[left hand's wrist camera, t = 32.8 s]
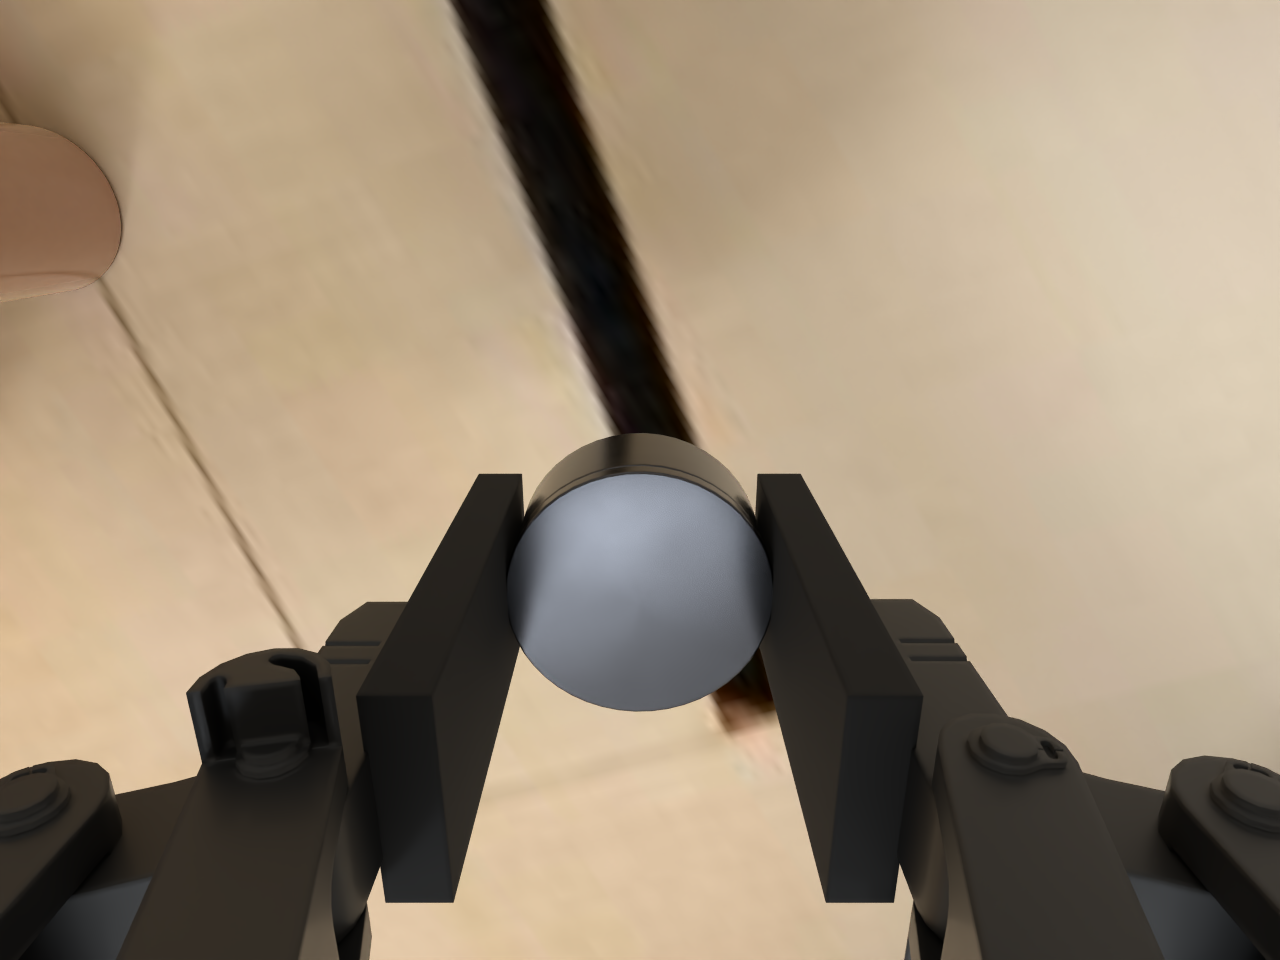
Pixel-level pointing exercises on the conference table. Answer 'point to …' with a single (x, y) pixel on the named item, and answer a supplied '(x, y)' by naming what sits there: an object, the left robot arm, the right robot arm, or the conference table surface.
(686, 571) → the cap
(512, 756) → the conference table surface
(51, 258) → the bottle
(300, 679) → the left robot arm
